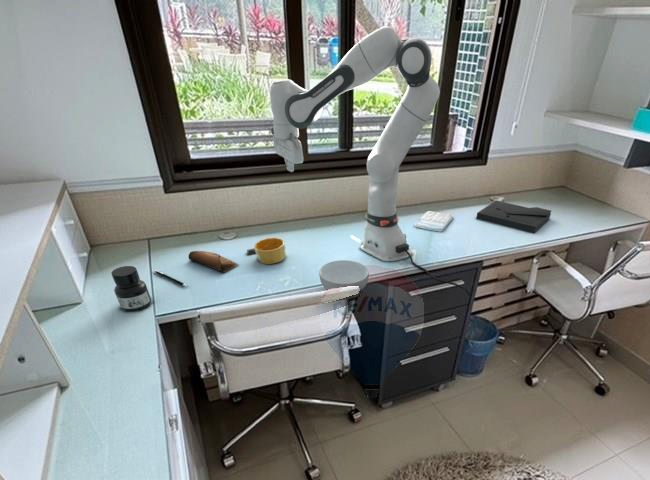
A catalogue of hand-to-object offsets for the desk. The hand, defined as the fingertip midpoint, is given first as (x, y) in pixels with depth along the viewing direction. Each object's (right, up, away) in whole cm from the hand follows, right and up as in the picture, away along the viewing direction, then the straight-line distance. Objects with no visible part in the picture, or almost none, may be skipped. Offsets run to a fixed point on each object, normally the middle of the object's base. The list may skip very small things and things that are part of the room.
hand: (290, 170), depth 156 cm
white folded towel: (+61, -11, +35) cm, 71 cm away
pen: (-40, -44, -14) cm, 61 cm away
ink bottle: (-44, -54, -27) cm, 75 cm away
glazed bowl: (-8, -29, -2) cm, 30 cm away
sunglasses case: (-28, -37, -3) cm, 47 cm away
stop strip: (-12, -29, +7) cm, 32 cm away
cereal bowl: (+22, -48, -16) cm, 55 cm away
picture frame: (+101, -7, +42) cm, 109 cm away
